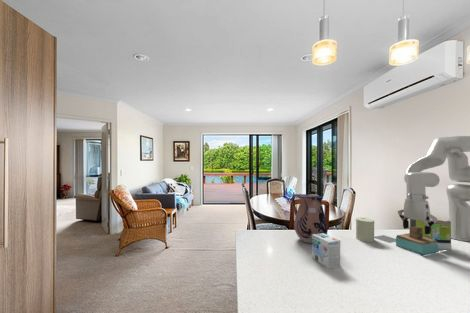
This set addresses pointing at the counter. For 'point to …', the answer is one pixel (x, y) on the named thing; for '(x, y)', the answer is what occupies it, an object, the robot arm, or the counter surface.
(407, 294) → the counter surface
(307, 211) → the ceramic pitcher
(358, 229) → the can
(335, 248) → the light bulb box
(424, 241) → the lid
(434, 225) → the tea box
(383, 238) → the mat
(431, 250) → the dish
